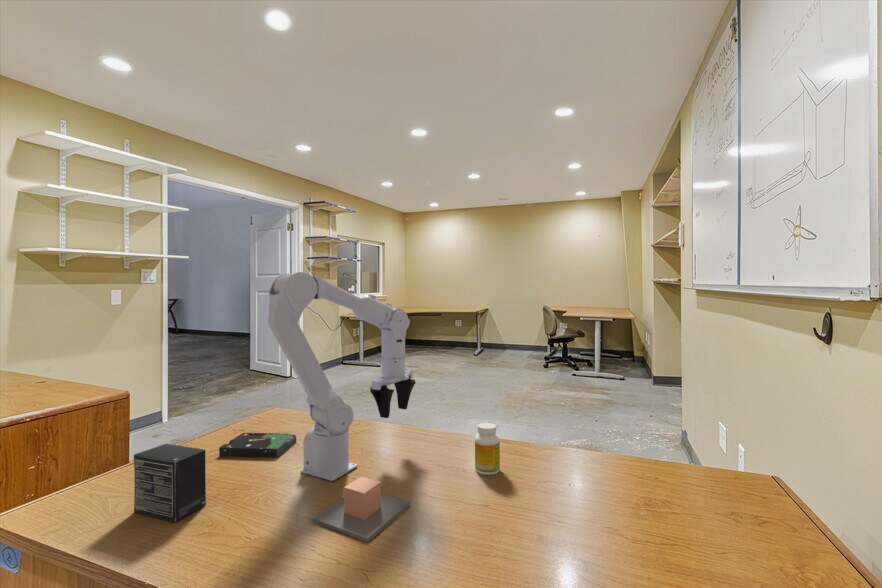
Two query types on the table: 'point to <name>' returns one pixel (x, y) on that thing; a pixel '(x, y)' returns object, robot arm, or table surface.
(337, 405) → the robot arm
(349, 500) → the cube
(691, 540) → the table surface
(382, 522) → the mat
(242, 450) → the disk drive
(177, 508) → the small box
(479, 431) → the supplement bottle
